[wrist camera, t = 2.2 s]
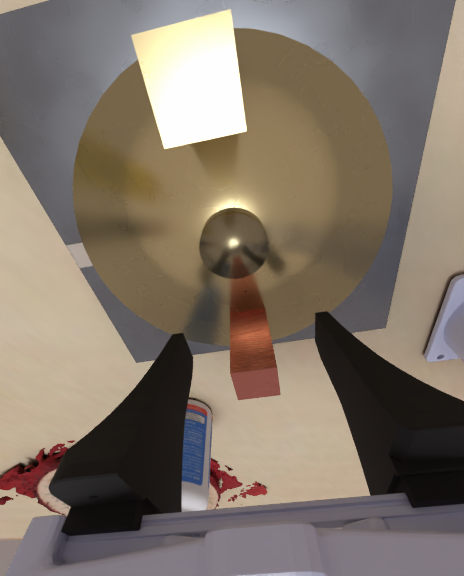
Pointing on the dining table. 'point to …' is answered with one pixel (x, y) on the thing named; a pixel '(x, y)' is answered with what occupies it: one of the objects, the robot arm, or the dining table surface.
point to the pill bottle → (196, 457)
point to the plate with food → (37, 485)
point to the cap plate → (245, 14)
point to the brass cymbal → (232, 188)
